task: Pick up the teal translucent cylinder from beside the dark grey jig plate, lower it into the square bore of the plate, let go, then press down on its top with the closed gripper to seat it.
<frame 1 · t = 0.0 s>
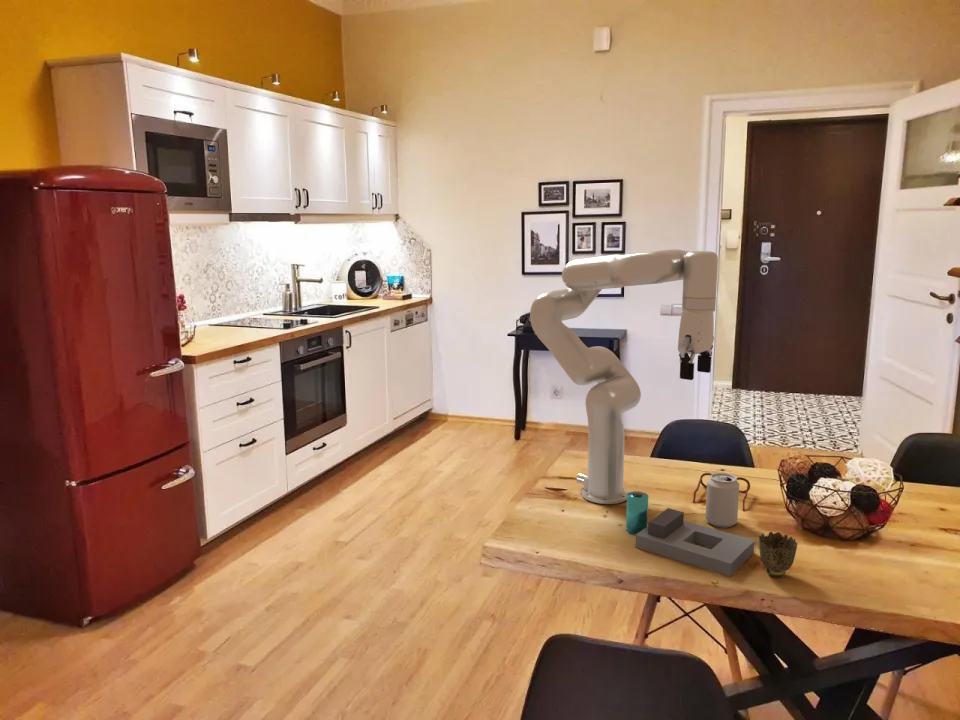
hand: (695, 375, 169), 37 cm above the table, tool pointing down, fingers open, 9 cm apart
jig: (694, 549, 160), on the table
glasses: (721, 500, 190), on the table
teal translucent cylinder: (636, 530, 171), on the table
cup: (775, 575, 149), on the table
can: (720, 523, 175), on the table
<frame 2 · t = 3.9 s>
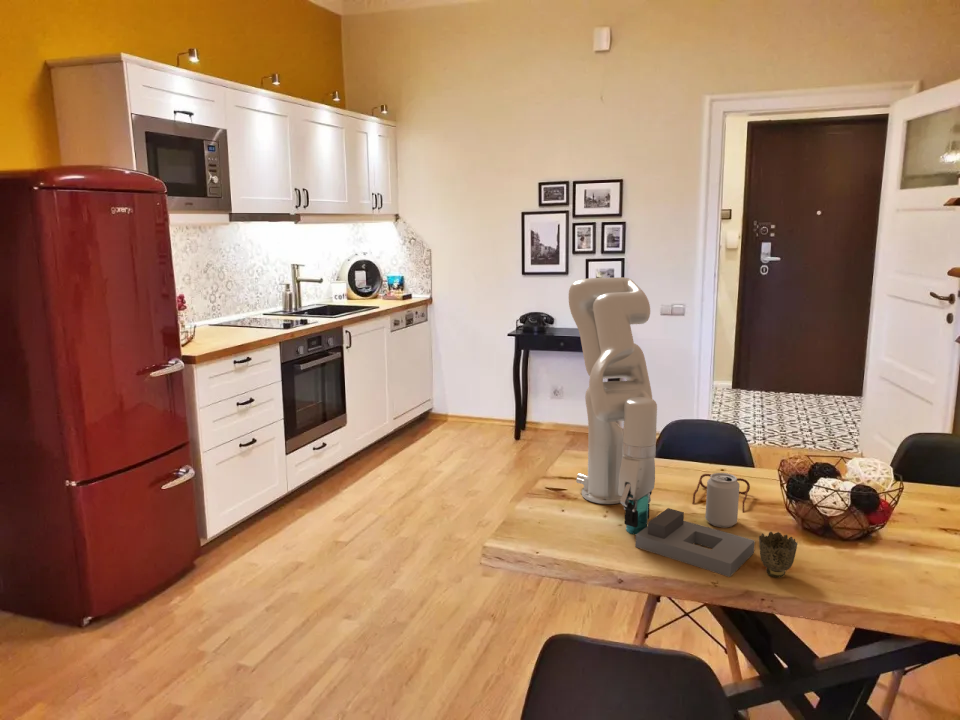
hand: (636, 520, 170), 2 cm above the table, tool pointing down, fingers closed on teal translucent cylinder, 4 cm apart
teal translucent cylinder: (636, 530, 171), on the table, touching gripper
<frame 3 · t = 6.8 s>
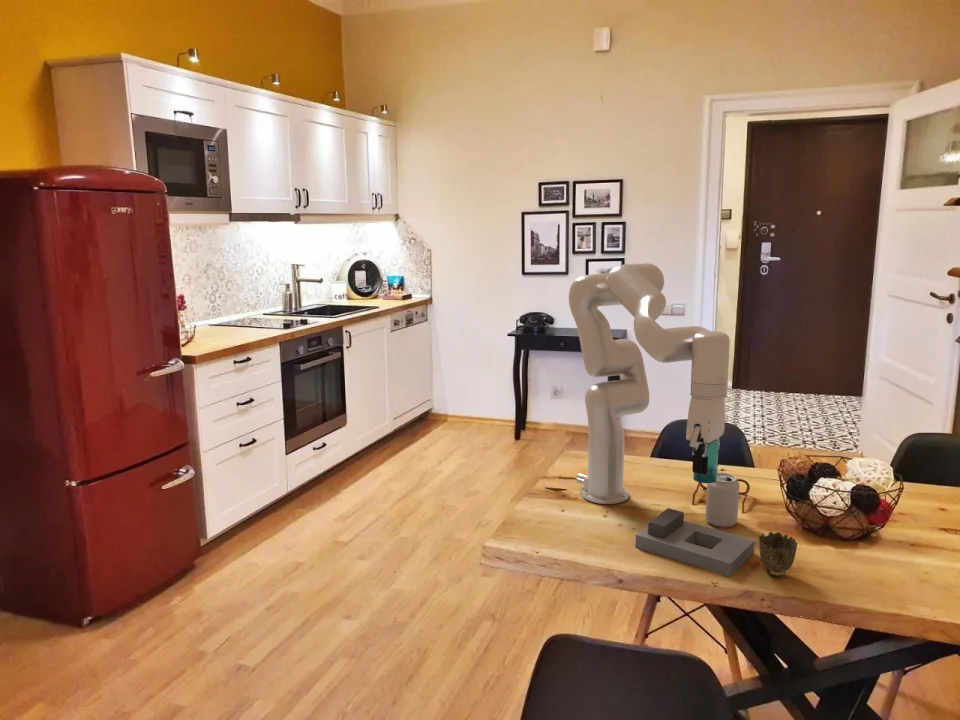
hand: (705, 468, 155), 20 cm above the table, tool pointing down, fingers closed on teal translucent cylinder, 4 cm apart
teal translucent cylinder: (704, 479, 156), point 17 cm above the table, touching gripper
when the fingers open (4 cm above the table, at t = 9.6 s): teal translucent cylinder drops 1 cm, resting in jig.
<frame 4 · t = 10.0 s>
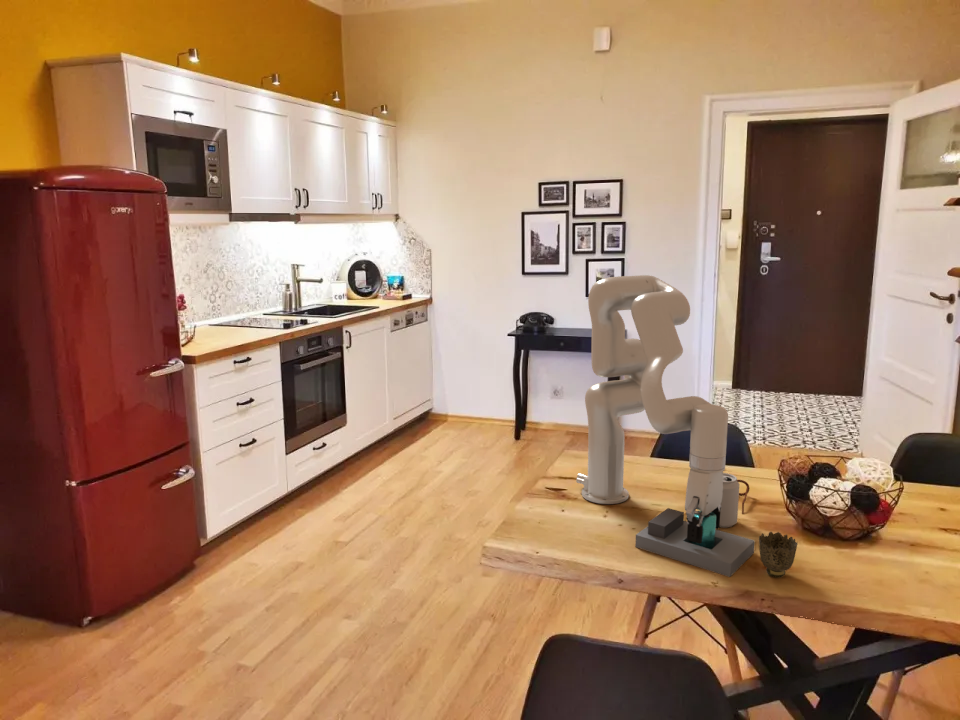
hand: (703, 533, 158), 4 cm above the table, tool pointing down, fingers open, 9 cm apart
teal translucent cylinder: (702, 552, 159), resting in jig
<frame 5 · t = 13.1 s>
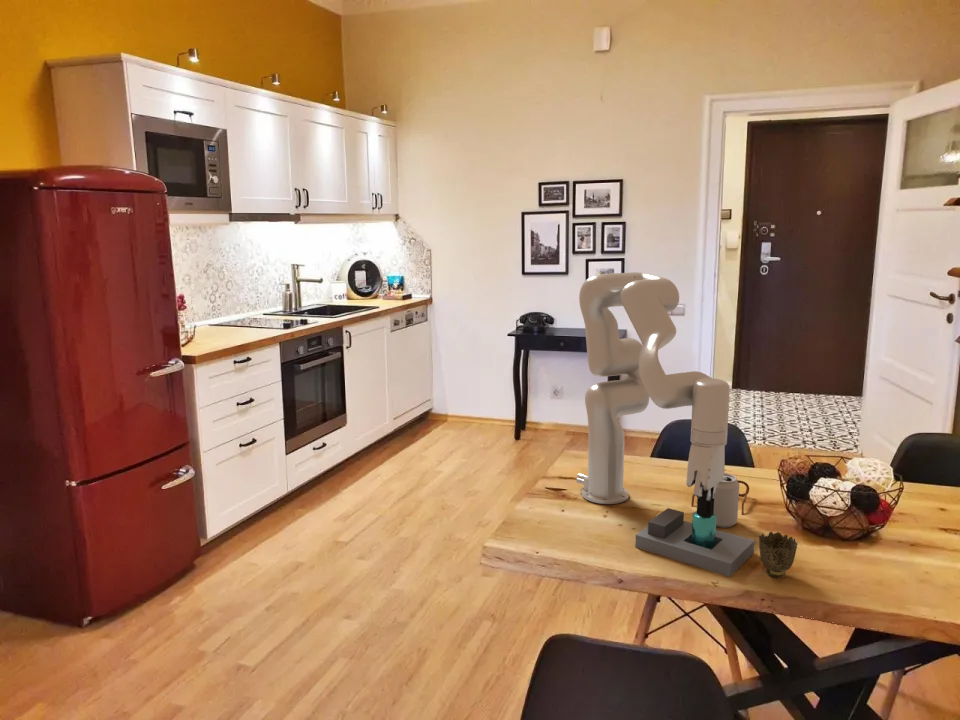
hand: (704, 514, 157), 9 cm above the table, tool pointing down, fingers closed
teal translucent cylinder: (702, 552, 159), resting in jig, touching gripper
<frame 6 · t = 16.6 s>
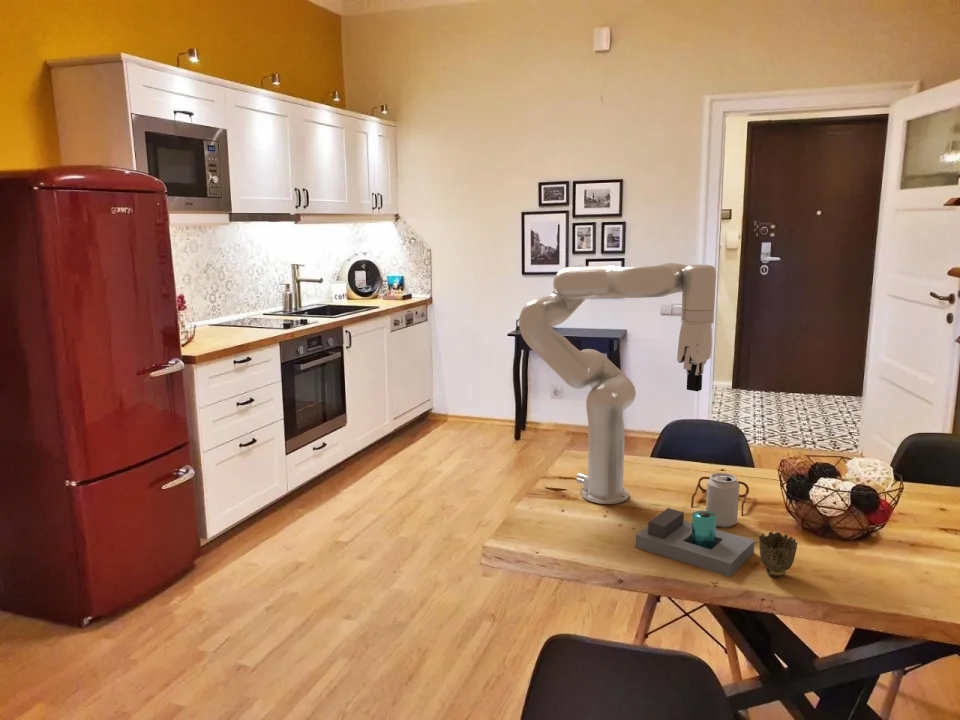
hand: (694, 389, 175), 32 cm above the table, tool pointing down, fingers closed
teal translucent cylinder: (702, 552, 159), resting in jig
at the end: teal translucent cylinder 0.0 cm from the target spot on the jig, point 0.0 cm above the jig's base; teal translucent cylinder tilted 0°; the gripper is holding nothing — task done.
